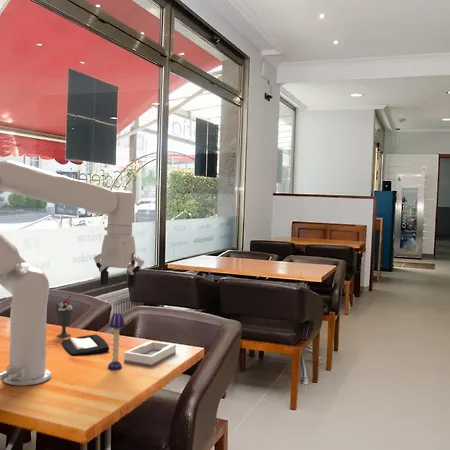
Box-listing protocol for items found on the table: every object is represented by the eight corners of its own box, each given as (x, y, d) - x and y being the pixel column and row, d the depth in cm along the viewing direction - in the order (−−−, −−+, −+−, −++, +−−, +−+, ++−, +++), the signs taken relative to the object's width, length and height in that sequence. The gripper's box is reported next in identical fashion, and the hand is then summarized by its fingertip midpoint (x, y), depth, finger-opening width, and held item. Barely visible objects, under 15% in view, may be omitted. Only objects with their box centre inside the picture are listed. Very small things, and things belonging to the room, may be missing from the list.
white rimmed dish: (151, 366, 161) (151, 356, 161) (124, 361, 165) (124, 352, 165) (175, 353, 176) (175, 344, 176) (149, 349, 180) (150, 340, 180)
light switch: (58, 337, 186) (97, 330, 192) (59, 345, 186) (98, 338, 192) (69, 352, 168) (111, 344, 175) (70, 360, 169) (112, 352, 175)
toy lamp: (111, 364, 162) (112, 311, 161) (125, 365, 161) (127, 312, 161) (105, 369, 157) (107, 314, 157) (120, 370, 157) (121, 315, 156)
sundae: (77, 335, 195) (77, 295, 195) (62, 339, 189) (63, 298, 189) (65, 332, 199) (65, 293, 198) (50, 336, 193) (51, 296, 192)
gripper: (88, 229, 160) (87, 284, 161) (138, 232, 154) (136, 289, 155) (102, 229, 167) (100, 281, 168) (150, 232, 161) (148, 286, 162)
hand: (117, 285), depth 161 cm, fingers open, 9 cm apart
